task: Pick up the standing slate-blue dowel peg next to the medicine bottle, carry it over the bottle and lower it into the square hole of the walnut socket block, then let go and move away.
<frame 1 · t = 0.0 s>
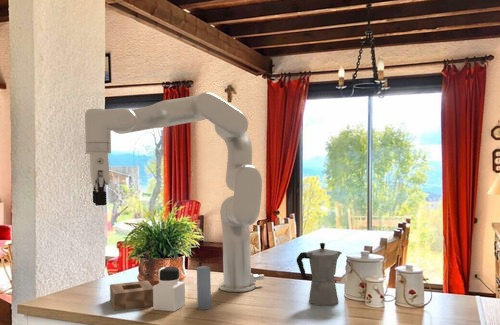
hand: (99, 204, 148), 31 cm above the kitchen counter, tool pointing down, fingers open, 9 cm apart
socket: (132, 302, 149), on the kitchen counter
peg: (204, 307, 143), on the kitchen counter
medicine bottle: (169, 308, 144), on the kitchen counter
coffeepot: (320, 302, 146), on the kitchen counter
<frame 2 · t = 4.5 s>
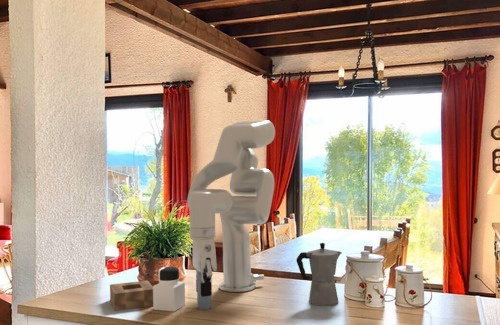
hand: (203, 293, 143), 4 cm above the kitchen counter, tool pointing down, fingers closed on peg, 4 cm apart
peg: (204, 307, 143), on the kitchen counter, touching gripper
everything else where it was.
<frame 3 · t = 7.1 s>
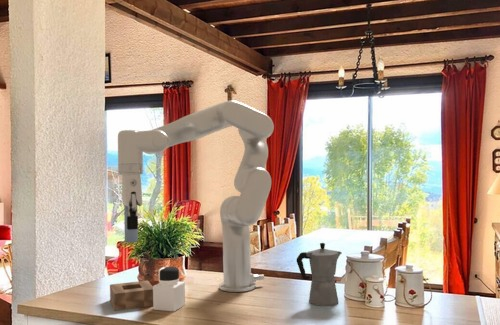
hand: (131, 227, 149), 23 cm above the kitchen counter, tool pointing down, fingers closed on peg, 4 cm apart
peg: (131, 241, 149), point 19 cm above the kitchen counter, touching gripper
everything else where it was.
when the fingers open (6 cm above the kitchen counter, at t = 10.1 s): peg drops 1 cm, resting on socket.
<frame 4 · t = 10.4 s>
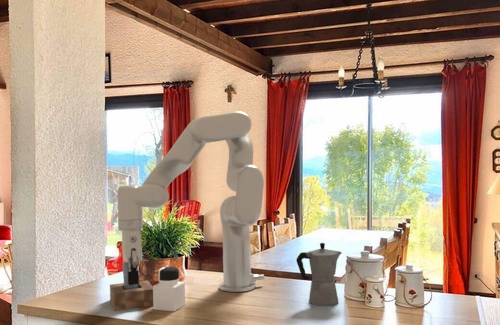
hand: (131, 281, 149), 7 cm above the kitchen counter, tool pointing down, fingers open, 7 cm apart
peg: (132, 300, 149), point 1 cm above the kitchen counter, touching socket
everything else where it was.
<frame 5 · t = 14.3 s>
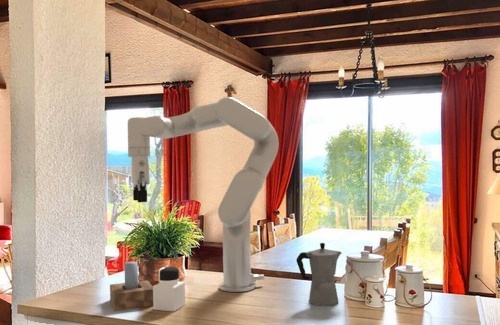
hand: (140, 201, 168), 30 cm above the kitchen counter, tool pointing down, fingers open, 9 cm apart
nothing on the kitchen counter moved.
at the end: peg 0.0 cm off-centre on the socket, point 0.5 cm above the socket's base; peg tilted 0°; the gripper is holding nothing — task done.
